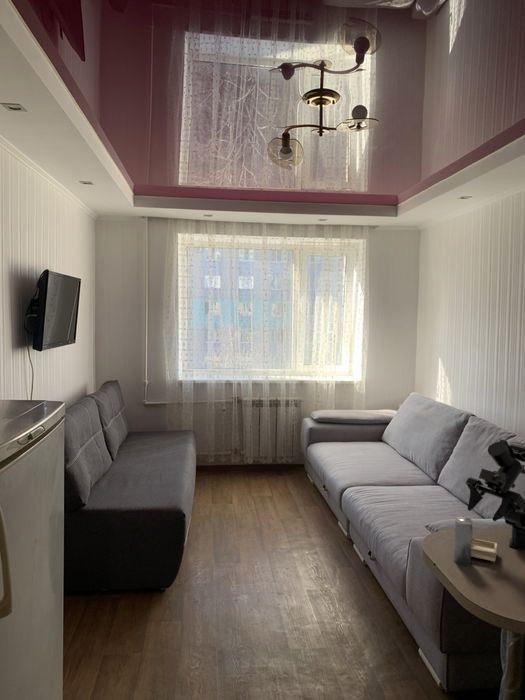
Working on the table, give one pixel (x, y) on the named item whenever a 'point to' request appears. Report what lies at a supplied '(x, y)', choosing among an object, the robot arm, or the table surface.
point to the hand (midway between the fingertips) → (480, 515)
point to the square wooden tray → (483, 549)
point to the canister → (463, 540)
